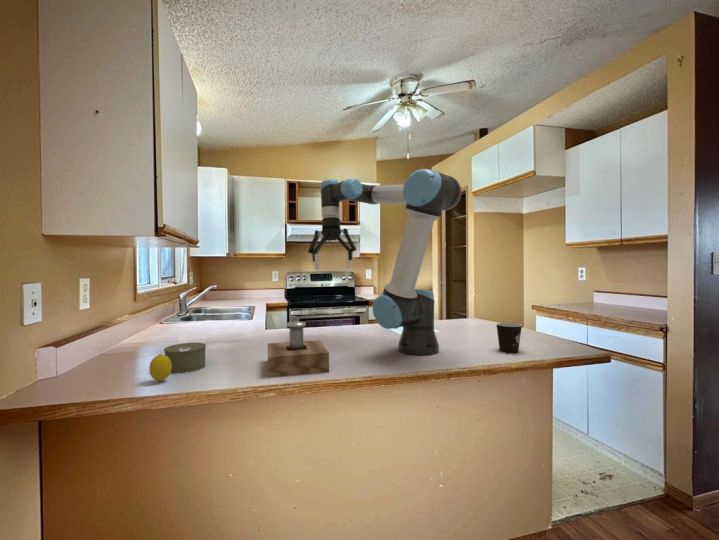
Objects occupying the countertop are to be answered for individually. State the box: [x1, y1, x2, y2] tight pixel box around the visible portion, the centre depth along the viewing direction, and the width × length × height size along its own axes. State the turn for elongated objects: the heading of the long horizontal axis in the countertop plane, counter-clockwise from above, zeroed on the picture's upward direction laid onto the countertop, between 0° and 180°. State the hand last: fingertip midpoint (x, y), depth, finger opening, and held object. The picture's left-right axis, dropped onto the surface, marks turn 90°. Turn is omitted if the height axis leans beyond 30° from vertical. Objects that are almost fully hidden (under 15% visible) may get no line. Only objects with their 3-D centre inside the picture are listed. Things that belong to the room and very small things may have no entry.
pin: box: [286, 321, 306, 351], centre depth 114 cm, size 6×6×14 cm
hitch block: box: [267, 339, 330, 378], centre depth 114 cm, size 18×18×6 cm
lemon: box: [148, 353, 172, 383], centre depth 100 cm, size 6×6×8 cm
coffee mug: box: [496, 322, 523, 354], centre depth 132 cm, size 12×9×10 cm
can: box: [163, 342, 207, 374], centre depth 113 cm, size 12×12×7 cm
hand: (332, 269), depth 147 cm, fingers open, 13 cm apart
